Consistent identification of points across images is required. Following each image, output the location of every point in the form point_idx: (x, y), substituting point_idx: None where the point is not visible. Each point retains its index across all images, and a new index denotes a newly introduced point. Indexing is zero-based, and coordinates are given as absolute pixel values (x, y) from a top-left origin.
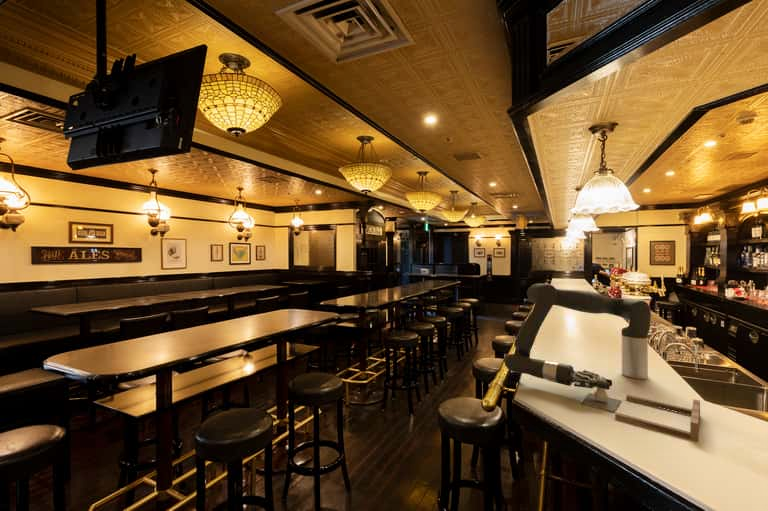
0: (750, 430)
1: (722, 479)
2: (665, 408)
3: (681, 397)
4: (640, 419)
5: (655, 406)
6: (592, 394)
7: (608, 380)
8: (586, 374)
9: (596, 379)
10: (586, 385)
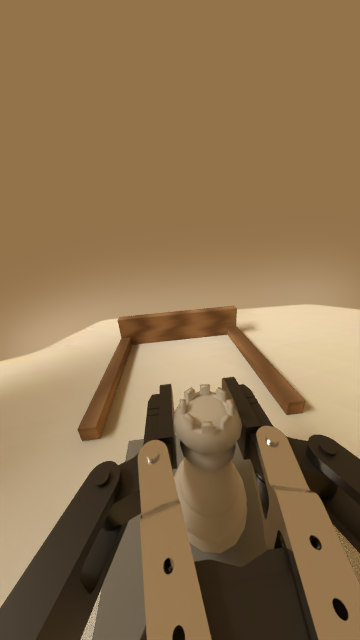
0: None
1: (304, 313)
2: (123, 365)
3: (23, 367)
4: (261, 362)
5: (119, 378)
6: (119, 636)
7: (171, 395)
8: (203, 596)
9: (234, 438)
10: (350, 530)
